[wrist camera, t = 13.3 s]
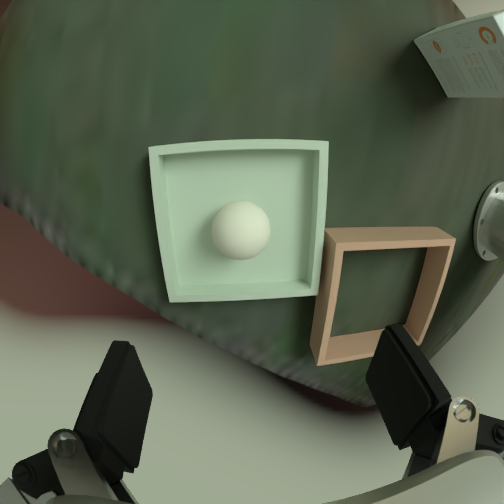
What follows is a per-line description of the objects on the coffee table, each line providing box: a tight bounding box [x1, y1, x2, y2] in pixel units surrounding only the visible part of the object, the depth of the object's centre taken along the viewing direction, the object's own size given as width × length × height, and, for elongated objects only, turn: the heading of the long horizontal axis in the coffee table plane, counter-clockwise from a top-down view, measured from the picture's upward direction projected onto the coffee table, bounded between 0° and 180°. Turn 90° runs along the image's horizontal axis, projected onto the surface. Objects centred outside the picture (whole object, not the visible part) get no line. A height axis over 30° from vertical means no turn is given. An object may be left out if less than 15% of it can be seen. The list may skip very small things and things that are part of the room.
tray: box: [149, 139, 329, 302], centre depth 25 cm, size 15×15×2 cm
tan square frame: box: [309, 227, 456, 366], centre depth 29 cm, size 16×16×4 cm
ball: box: [211, 201, 271, 260], centre depth 23 cm, size 5×5×5 cm
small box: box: [414, 10, 504, 98], centre depth 13 cm, size 8×6×13 cm
